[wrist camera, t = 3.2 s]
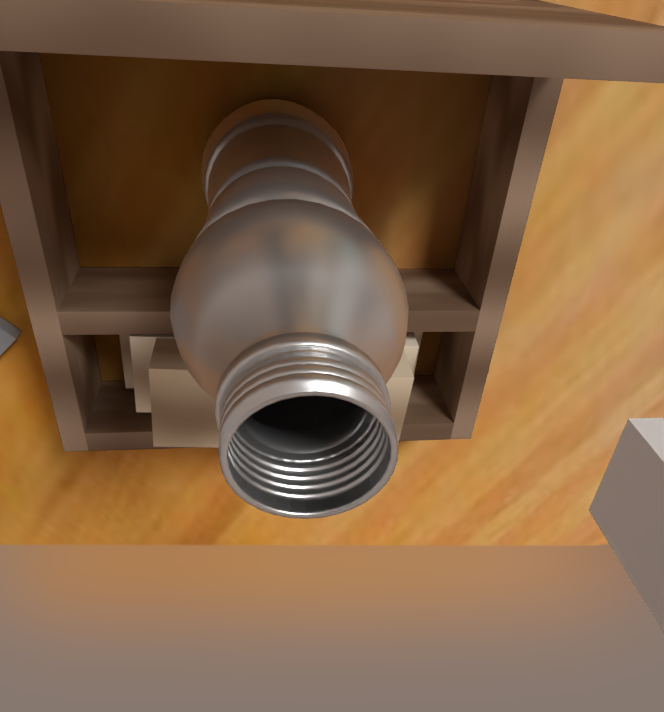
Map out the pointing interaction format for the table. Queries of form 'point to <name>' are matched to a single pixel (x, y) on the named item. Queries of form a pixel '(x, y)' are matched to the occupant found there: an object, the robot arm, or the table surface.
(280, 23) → the walnut rack
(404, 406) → the offcut top
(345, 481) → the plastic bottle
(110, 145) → the table surface
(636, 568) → the robot arm
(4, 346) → the grey mat
